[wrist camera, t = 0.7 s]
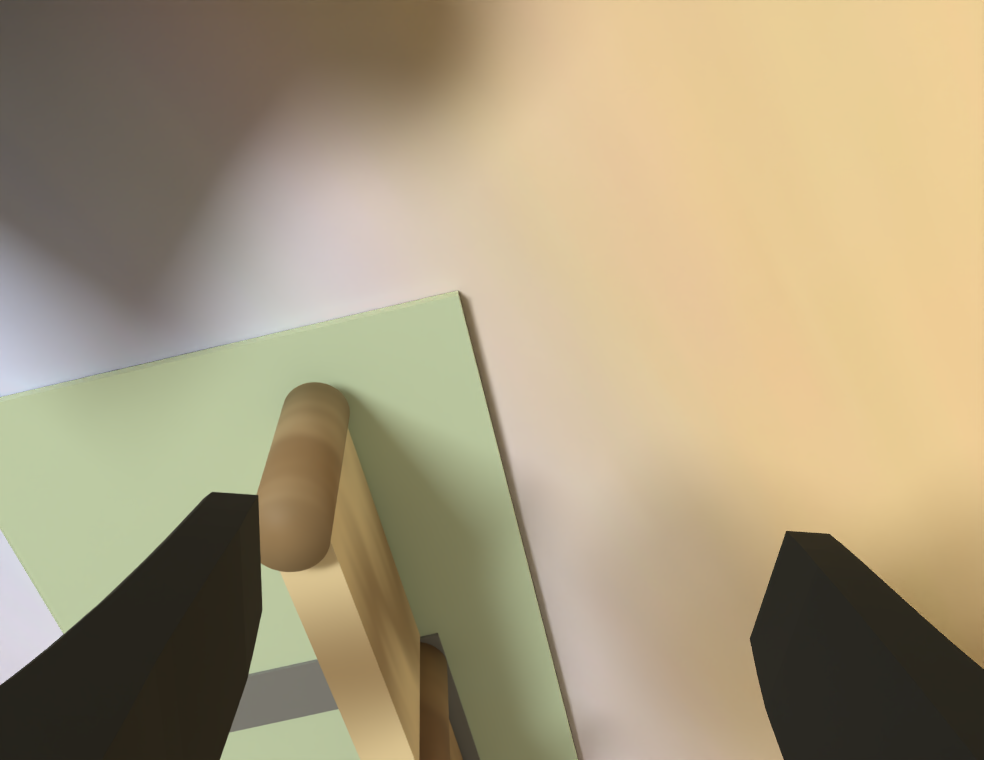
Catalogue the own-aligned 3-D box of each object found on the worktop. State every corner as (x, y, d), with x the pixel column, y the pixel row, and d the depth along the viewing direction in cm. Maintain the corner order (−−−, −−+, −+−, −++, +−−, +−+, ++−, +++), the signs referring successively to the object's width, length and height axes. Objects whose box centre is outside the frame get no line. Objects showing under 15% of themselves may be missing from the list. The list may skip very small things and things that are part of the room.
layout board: (248, 929, 31) (246, 941, 31) (-61, 411, 21) (-69, 419, 21) (603, 856, 31) (605, 867, 31) (457, 290, 21) (458, 296, 20)
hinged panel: (427, 633, 25) (427, 788, 20) (371, 646, 25) (360, 802, 20) (338, 375, 21) (315, 496, 16) (273, 390, 21) (232, 514, 16)
